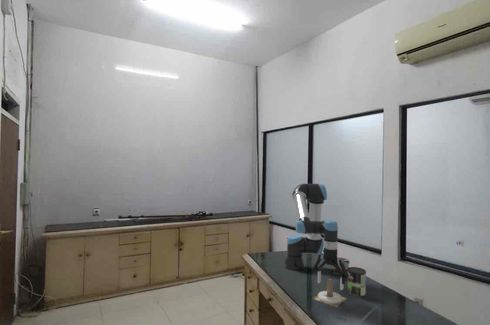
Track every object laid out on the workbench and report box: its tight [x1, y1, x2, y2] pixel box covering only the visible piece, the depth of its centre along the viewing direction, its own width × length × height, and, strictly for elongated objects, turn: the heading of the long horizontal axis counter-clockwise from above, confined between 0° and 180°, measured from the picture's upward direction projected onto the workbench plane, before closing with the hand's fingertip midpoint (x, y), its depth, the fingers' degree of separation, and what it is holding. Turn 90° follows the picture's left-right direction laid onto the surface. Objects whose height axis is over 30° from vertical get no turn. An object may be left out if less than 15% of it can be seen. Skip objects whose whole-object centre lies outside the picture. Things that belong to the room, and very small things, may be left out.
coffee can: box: [347, 266, 367, 297], centre depth 169 cm, size 10×10×14 cm
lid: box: [317, 278, 343, 305], centre depth 160 cm, size 13×13×10 cm
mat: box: [312, 294, 348, 308], centre depth 160 cm, size 14×14×1 cm
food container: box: [332, 257, 351, 275], centre depth 204 cm, size 12×6×10 cm, turn 84°
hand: (330, 285), depth 160 cm, fingers open, 13 cm apart
